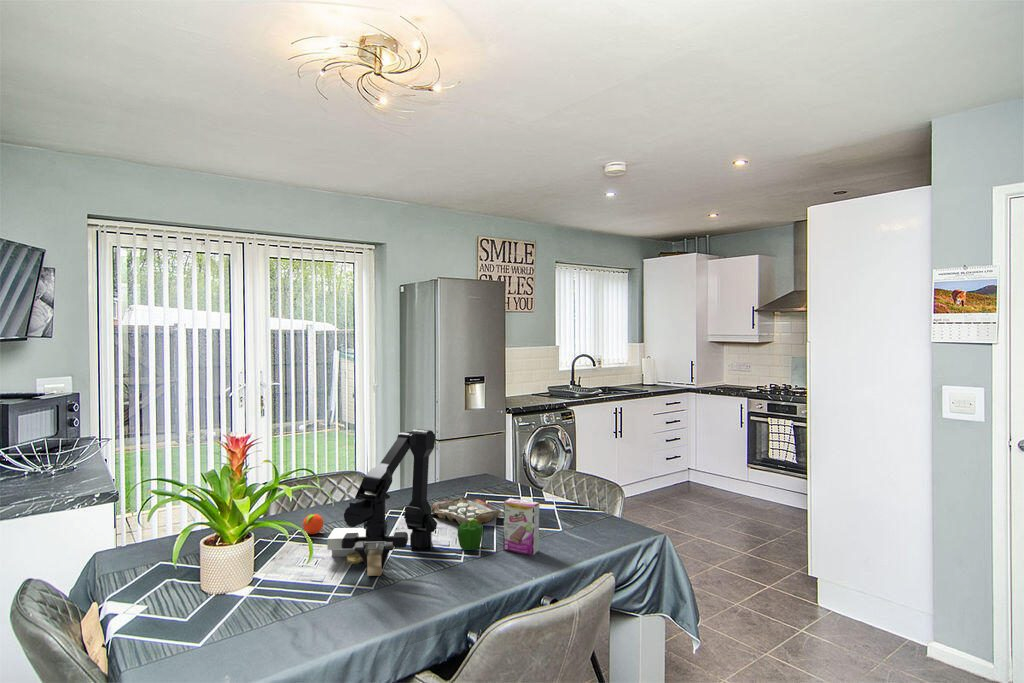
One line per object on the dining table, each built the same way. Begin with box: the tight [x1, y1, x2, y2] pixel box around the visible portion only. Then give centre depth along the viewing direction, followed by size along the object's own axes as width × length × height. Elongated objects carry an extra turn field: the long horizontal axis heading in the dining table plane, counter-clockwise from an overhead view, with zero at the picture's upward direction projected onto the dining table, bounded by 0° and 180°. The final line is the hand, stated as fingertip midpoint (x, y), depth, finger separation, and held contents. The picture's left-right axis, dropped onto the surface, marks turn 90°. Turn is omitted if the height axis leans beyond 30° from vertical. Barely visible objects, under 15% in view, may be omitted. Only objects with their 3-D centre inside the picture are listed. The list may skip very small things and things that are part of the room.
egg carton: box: [430, 496, 504, 525], centre depth 221 cm, size 30×22×5 cm
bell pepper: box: [457, 519, 484, 551], centre depth 190 cm, size 8×8×10 cm
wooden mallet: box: [366, 547, 384, 577], centre depth 174 cm, size 4×15×6 cm, turn 4°
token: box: [346, 552, 363, 565], centre depth 179 cm, size 5×5×2 cm
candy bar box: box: [502, 497, 540, 556], centre depth 187 cm, size 11×5×16 cm, turn 65°
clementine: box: [302, 513, 324, 535], centre depth 201 cm, size 8×7×7 cm
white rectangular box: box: [326, 527, 382, 558], centre depth 181 cm, size 15×9×8 cm, turn 94°
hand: (375, 568), depth 169 cm, fingers closed on wooden mallet, 4 cm apart
